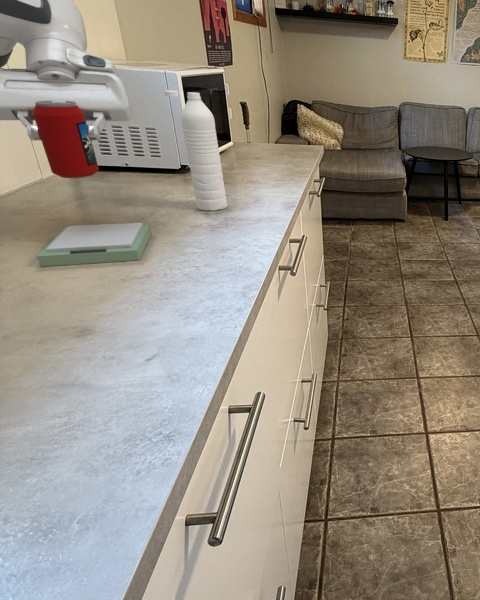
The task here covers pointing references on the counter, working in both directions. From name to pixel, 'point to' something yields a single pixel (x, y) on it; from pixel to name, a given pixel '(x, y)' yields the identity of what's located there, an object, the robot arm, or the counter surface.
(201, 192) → the water bottle
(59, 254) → the kitchen scale
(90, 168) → the beverage can
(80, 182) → the counter surface
